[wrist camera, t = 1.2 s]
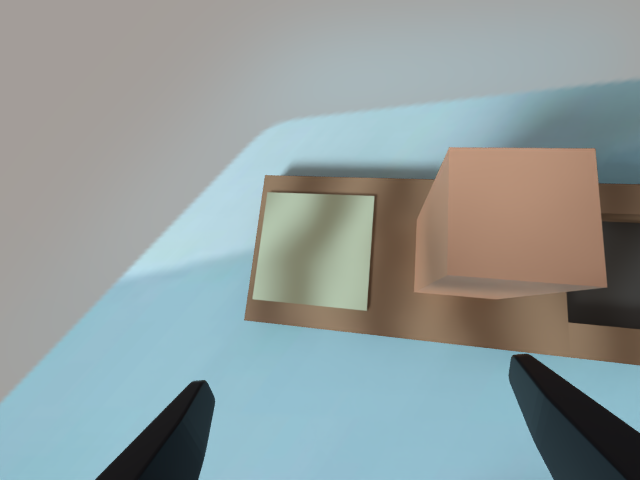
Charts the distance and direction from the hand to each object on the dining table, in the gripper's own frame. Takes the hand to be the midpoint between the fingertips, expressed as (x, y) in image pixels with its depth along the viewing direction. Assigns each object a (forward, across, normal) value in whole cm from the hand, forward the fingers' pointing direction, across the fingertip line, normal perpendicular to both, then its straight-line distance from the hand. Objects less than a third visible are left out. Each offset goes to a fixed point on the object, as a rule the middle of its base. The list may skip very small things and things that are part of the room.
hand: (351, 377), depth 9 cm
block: (+12, -7, +4) cm, 14 cm away
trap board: (+14, -7, +5) cm, 16 cm away
